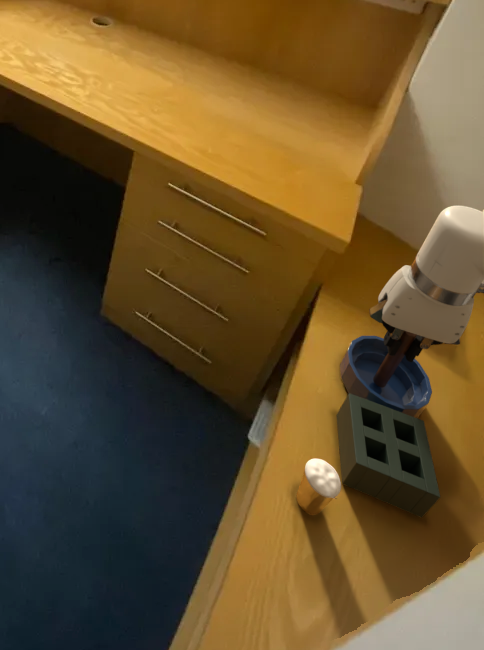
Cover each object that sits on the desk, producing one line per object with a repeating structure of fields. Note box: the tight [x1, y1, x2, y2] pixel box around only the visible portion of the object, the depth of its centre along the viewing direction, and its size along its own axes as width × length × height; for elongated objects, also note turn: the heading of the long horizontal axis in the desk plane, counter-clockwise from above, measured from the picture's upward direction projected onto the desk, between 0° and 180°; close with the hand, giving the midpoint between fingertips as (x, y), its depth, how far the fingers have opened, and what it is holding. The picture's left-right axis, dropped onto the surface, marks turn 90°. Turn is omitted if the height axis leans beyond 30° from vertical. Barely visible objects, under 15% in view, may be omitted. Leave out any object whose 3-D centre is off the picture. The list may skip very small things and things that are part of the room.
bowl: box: [339, 335, 433, 419], centre depth 88 cm, size 12×12×6 cm
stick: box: [373, 331, 417, 388], centre depth 85 cm, size 2×2×15 cm
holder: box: [336, 393, 441, 518], centre depth 78 cm, size 10×10×7 cm
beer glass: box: [295, 458, 342, 516], centre depth 73 cm, size 5×5×10 cm
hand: (398, 350), depth 84 cm, fingers closed on stick, 2 cm apart
